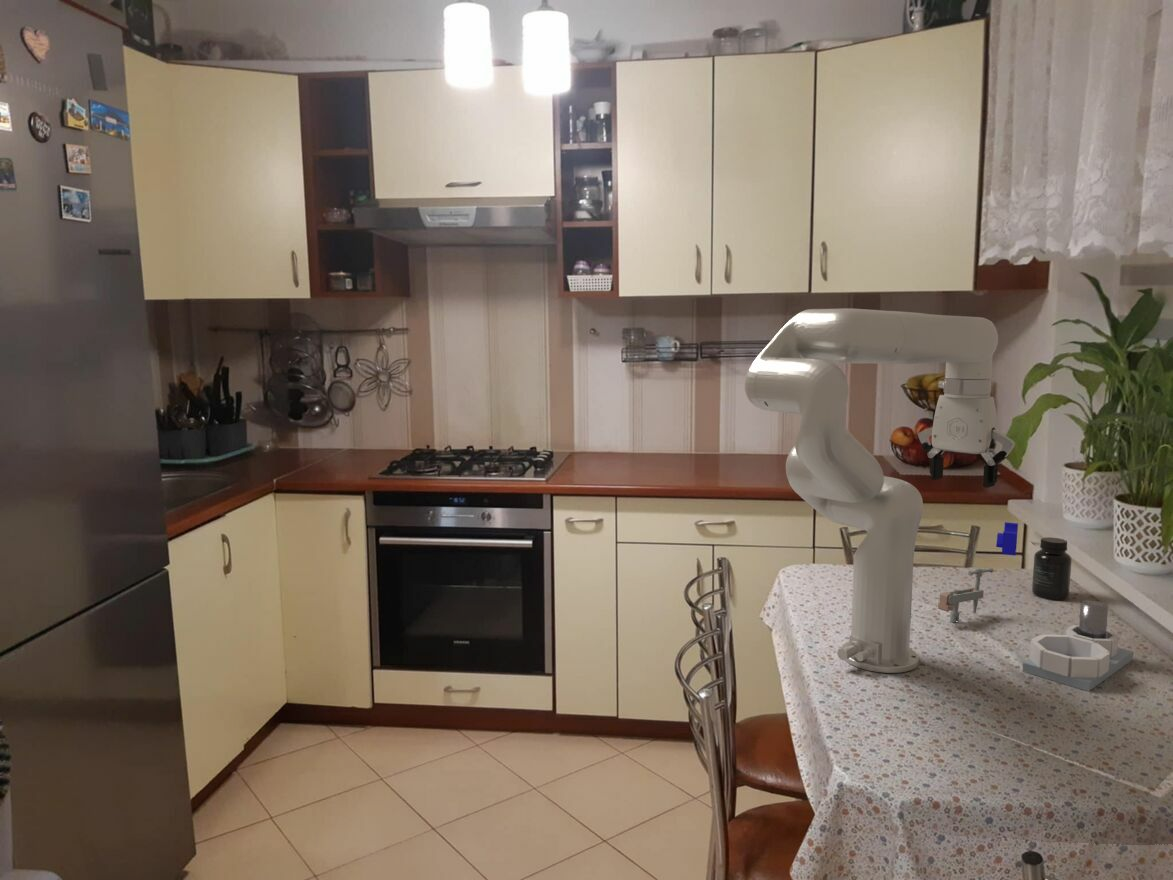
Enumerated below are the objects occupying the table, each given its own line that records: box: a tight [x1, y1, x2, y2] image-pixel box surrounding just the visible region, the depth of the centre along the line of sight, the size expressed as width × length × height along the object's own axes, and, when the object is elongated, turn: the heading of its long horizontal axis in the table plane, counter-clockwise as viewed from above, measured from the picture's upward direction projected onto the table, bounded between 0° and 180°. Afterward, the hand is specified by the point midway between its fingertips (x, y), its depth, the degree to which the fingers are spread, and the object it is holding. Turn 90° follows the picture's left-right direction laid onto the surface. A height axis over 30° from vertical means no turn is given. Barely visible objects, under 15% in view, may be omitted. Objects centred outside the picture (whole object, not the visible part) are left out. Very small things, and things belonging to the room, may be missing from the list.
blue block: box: [995, 521, 1019, 556], centre depth 211 cm, size 12×4×6 cm, turn 152°
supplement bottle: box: [1031, 536, 1072, 601], centre depth 175 cm, size 7×7×12 cm
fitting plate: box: [1022, 624, 1134, 692], centre depth 140 cm, size 19×11×4 cm, turn 130°
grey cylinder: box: [1078, 600, 1109, 639], centre depth 143 cm, size 4×4×8 cm
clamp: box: [937, 567, 995, 623], centre depth 162 cm, size 15×2×10 cm, turn 123°
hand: (962, 482), depth 152 cm, fingers open, 9 cm apart
